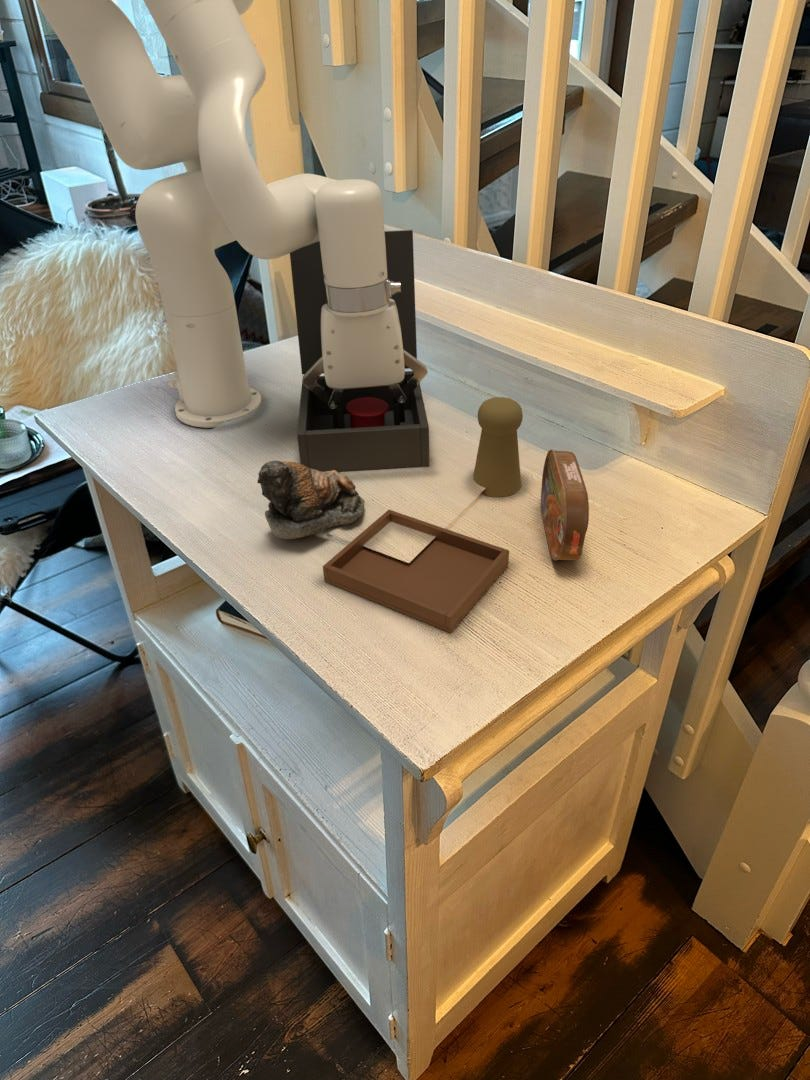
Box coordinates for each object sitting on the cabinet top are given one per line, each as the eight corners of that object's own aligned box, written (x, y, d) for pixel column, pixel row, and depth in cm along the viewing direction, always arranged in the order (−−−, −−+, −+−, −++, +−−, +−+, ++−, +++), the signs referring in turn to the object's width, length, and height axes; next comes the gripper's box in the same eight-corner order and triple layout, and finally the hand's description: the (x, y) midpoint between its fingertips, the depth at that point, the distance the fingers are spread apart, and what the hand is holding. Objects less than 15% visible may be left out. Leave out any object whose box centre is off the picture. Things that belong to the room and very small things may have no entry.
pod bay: (429, 473, 96) (428, 427, 92) (302, 480, 95) (297, 434, 91) (418, 412, 110) (417, 370, 106) (307, 419, 109) (302, 377, 105)
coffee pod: (338, 439, 101) (337, 408, 98) (362, 423, 105) (362, 393, 102) (373, 450, 99) (372, 419, 96) (396, 434, 103) (396, 403, 100)
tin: (538, 498, 90) (543, 435, 86) (564, 497, 90) (571, 435, 85) (554, 577, 78) (561, 509, 73) (585, 577, 78) (594, 509, 73)
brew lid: (412, 230, 97) (409, 227, 102) (287, 236, 97) (290, 233, 102) (417, 368, 105) (414, 359, 110) (301, 374, 104) (304, 365, 109)
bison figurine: (347, 498, 92) (340, 424, 86) (378, 525, 87) (374, 448, 81) (257, 533, 86) (243, 456, 80) (285, 563, 81) (272, 484, 76)
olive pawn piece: (519, 499, 90) (525, 415, 84) (469, 494, 91) (471, 412, 85) (523, 473, 95) (529, 392, 89) (475, 469, 96) (477, 389, 90)
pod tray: (324, 581, 79) (322, 566, 78) (389, 523, 87) (388, 509, 86) (450, 633, 72) (450, 617, 71) (508, 565, 80) (509, 550, 79)
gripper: (426, 279, 94) (431, 411, 104) (286, 291, 93) (305, 422, 103) (433, 298, 88) (437, 436, 98) (282, 310, 87) (303, 448, 97)
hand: (369, 428), depth 101 cm, fingers open, 6 cm apart
